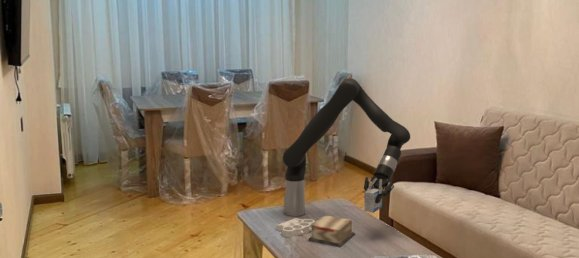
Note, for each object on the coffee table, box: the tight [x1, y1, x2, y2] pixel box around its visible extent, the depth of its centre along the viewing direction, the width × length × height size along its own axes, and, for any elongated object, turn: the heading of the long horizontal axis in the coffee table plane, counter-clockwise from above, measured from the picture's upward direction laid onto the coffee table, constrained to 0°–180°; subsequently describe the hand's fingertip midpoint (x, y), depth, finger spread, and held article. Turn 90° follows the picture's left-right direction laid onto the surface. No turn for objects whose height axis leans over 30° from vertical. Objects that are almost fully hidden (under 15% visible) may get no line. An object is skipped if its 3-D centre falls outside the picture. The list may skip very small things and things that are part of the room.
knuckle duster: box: [275, 217, 316, 238], centre depth 262 cm, size 3×18×15 cm
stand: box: [308, 215, 356, 248], centre depth 252 cm, size 15×15×7 cm
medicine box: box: [363, 188, 383, 213], centre depth 251 cm, size 8×4×9 cm, turn 143°
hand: (371, 201), depth 250 cm, fingers closed on medicine box, 4 cm apart
